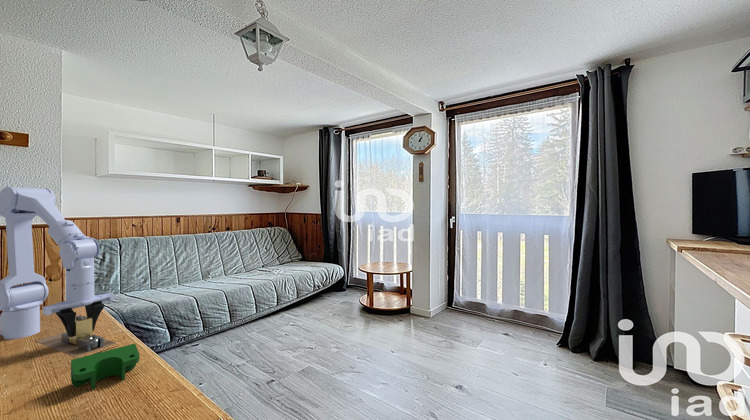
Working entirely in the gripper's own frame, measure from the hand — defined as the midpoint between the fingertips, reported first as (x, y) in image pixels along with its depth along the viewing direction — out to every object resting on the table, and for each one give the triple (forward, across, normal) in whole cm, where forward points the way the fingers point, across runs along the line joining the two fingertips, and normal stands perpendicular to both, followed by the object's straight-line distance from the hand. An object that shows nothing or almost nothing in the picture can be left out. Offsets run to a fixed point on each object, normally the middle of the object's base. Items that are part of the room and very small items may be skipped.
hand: (81, 333), depth 87 cm
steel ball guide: (+3, 0, -1) cm, 3 cm away
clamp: (+4, -6, -26) cm, 27 cm away
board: (+4, 0, +3) cm, 5 cm away
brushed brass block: (+2, 0, 0) cm, 2 cm away
